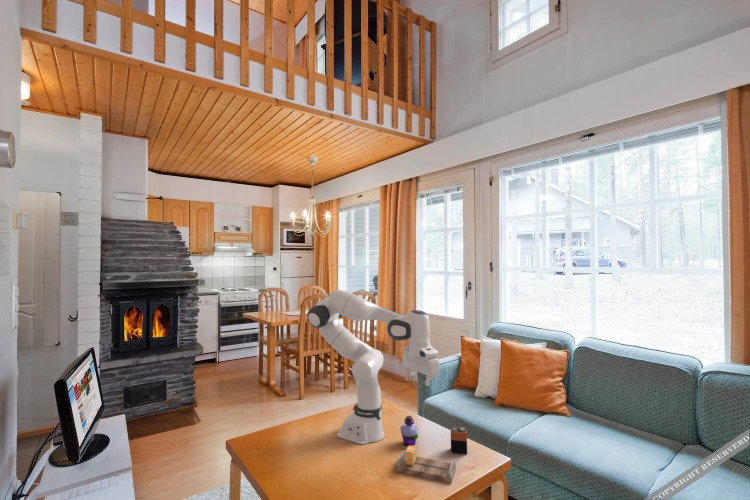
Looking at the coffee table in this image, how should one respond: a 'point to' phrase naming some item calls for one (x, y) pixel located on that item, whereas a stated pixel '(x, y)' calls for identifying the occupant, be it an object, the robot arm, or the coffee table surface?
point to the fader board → (427, 468)
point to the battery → (458, 440)
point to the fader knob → (410, 455)
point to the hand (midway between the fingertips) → (420, 382)
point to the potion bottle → (409, 431)
